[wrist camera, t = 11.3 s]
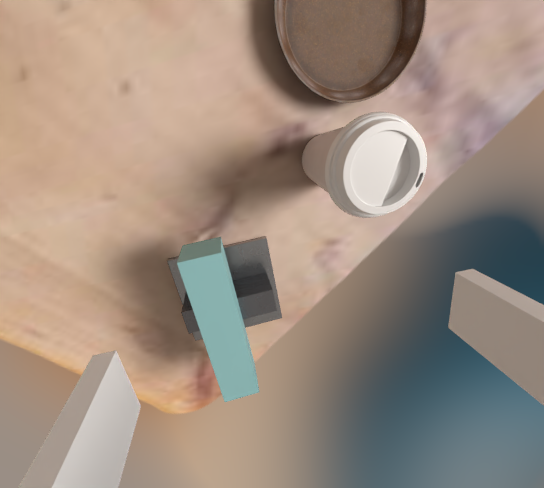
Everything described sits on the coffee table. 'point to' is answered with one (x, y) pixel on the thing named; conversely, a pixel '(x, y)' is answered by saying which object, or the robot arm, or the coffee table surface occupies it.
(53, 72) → the coffee table surface
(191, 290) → the bar
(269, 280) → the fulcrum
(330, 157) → the coffee cup
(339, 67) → the plant saucer
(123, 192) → the coffee table surface
